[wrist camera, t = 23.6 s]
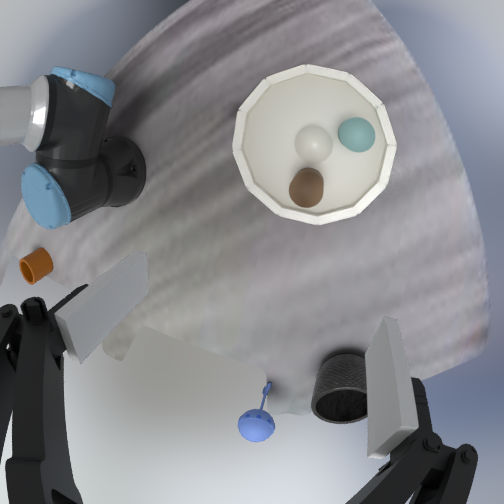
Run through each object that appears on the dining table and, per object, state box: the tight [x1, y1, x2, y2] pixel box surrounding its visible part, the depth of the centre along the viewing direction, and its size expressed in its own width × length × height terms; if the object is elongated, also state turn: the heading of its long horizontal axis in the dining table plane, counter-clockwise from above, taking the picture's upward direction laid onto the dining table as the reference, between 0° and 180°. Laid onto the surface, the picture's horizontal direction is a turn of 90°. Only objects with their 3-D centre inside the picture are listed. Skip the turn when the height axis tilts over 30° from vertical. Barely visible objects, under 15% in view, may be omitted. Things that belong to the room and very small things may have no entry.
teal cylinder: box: [338, 117, 375, 152], centre depth 38 cm, size 5×5×7 cm
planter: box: [311, 353, 368, 424], centre depth 55 cm, size 14×14×13 cm
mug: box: [19, 248, 53, 285], centre depth 72 cm, size 9×12×9 cm
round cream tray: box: [232, 64, 397, 225], centre depth 43 cm, size 26×26×3 cm
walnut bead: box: [289, 168, 324, 208], centre depth 43 cm, size 5×5×7 cm
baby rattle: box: [238, 383, 275, 442], centre depth 62 cm, size 9×9×18 cm
